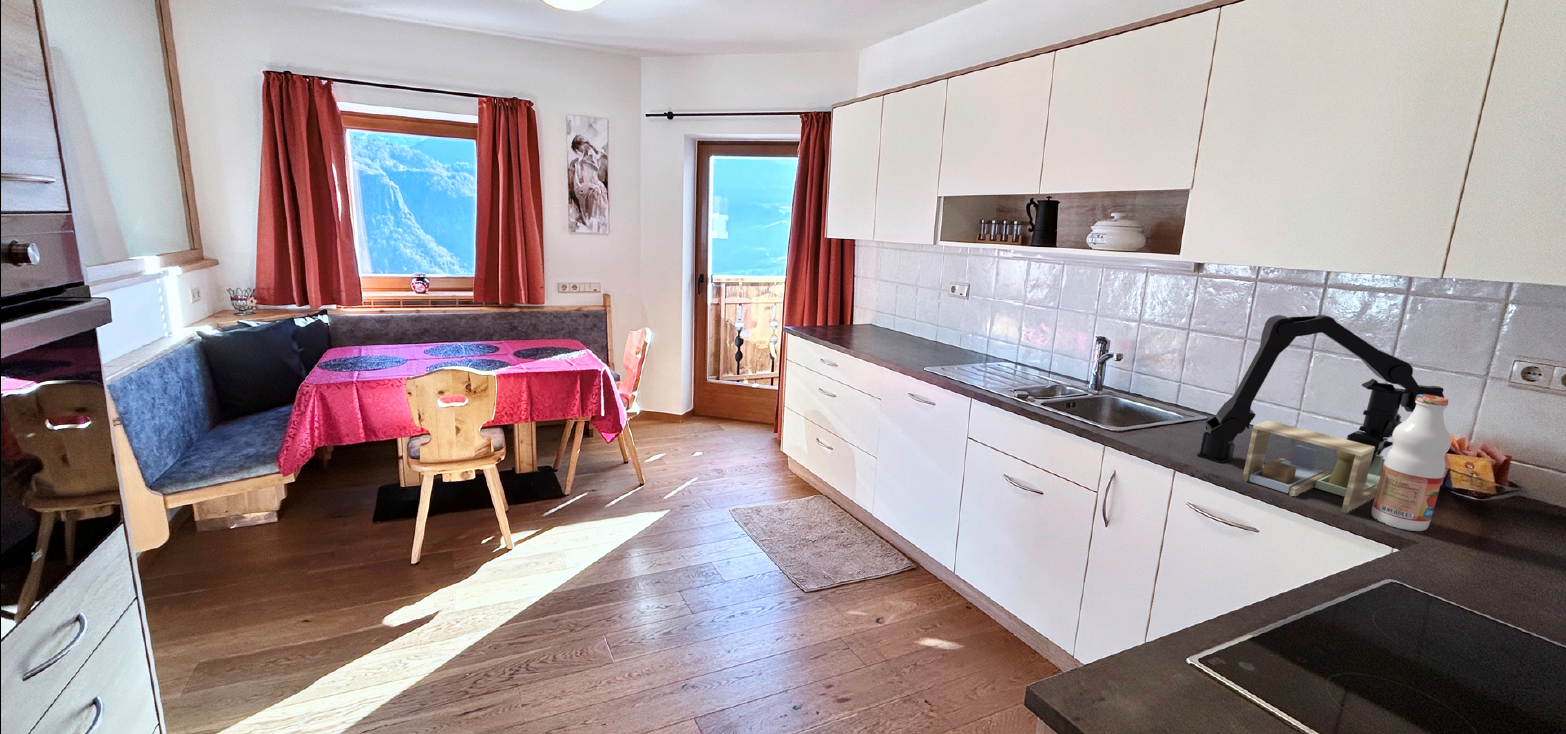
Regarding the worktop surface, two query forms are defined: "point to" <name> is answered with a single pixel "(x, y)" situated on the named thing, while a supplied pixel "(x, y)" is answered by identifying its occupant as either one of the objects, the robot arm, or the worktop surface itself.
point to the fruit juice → (1414, 467)
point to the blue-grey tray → (1305, 470)
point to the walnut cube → (1279, 472)
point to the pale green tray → (1324, 485)
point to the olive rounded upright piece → (1342, 469)
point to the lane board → (1356, 480)
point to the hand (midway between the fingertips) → (1367, 468)
